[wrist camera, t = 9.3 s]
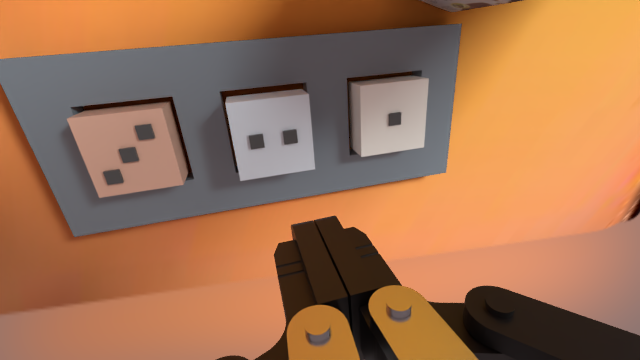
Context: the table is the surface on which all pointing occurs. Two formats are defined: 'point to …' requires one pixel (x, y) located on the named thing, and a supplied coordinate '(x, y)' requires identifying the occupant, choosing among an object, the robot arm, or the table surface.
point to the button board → (211, 123)
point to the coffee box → (464, 4)
